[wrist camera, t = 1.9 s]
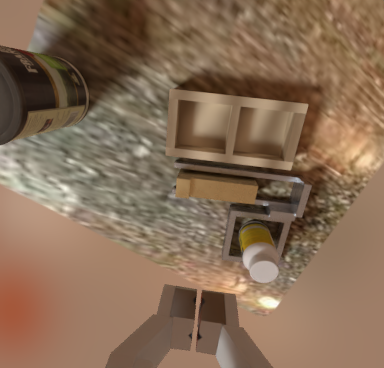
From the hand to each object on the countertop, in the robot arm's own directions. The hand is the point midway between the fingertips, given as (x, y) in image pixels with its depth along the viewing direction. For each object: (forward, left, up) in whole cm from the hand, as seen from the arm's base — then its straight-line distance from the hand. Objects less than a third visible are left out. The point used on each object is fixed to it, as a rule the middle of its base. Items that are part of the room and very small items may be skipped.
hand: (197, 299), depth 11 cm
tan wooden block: (-2, +5, -29) cm, 30 cm away
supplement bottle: (-10, +14, -29) cm, 34 cm away
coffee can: (+24, -6, -29) cm, 38 cm away
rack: (-3, -4, -29) cm, 30 cm away
